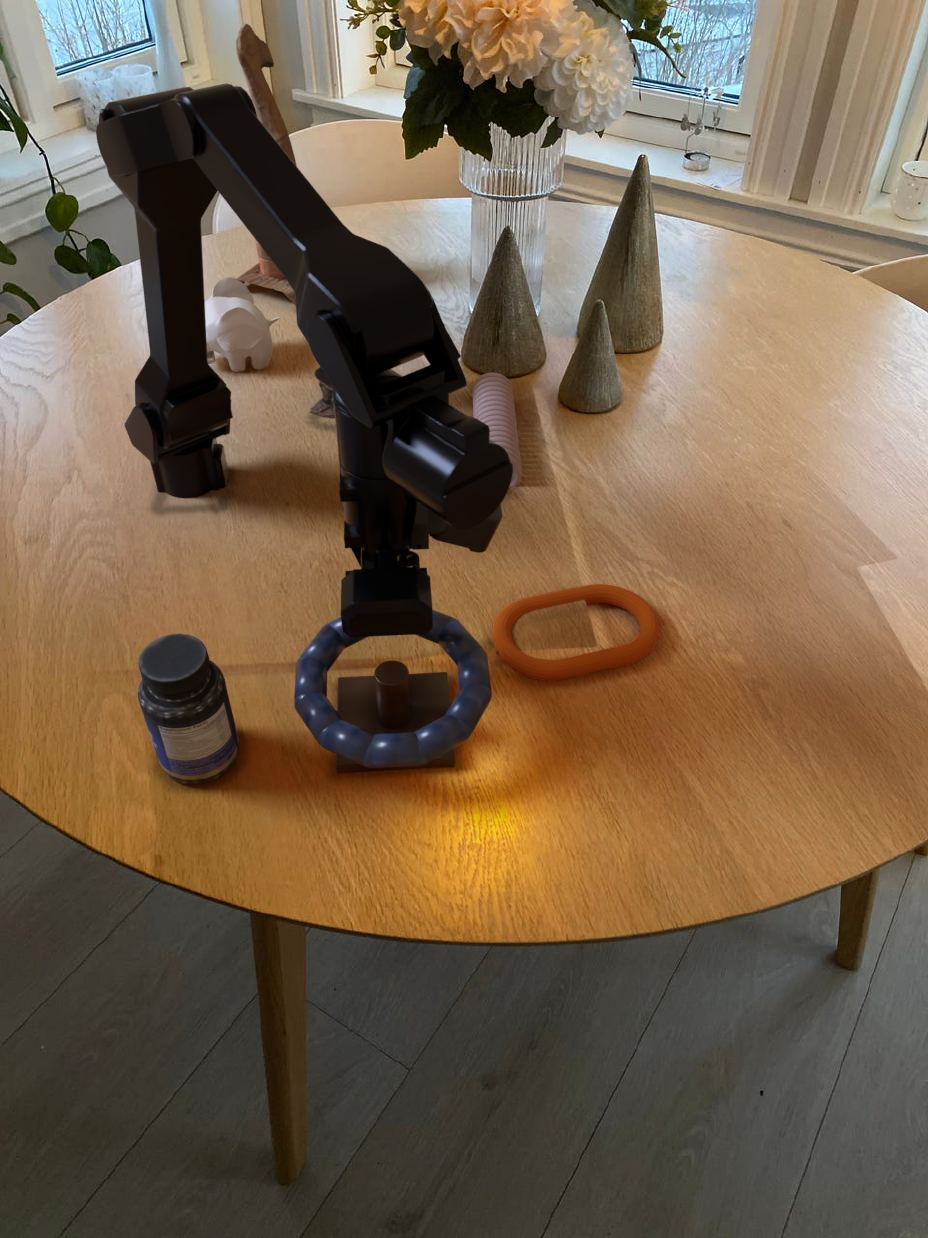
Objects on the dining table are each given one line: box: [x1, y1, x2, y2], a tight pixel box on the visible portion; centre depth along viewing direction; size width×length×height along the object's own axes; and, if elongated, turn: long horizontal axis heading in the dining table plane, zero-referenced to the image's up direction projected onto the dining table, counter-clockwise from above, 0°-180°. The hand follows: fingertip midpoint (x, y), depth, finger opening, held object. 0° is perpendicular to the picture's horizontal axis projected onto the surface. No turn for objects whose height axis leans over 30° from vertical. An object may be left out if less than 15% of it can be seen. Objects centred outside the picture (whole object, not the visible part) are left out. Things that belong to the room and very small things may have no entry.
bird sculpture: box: [235, 23, 298, 306], centre depth 123 cm, size 11×12×32 cm
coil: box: [471, 371, 523, 488], centre depth 104 cm, size 5×5×18 cm
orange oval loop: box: [491, 583, 661, 681], centre depth 83 cm, size 10×2×15 cm
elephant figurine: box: [205, 276, 281, 373], centre depth 116 cm, size 10×12×9 cm
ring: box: [293, 609, 493, 768], centre depth 73 cm, size 15×15×2 cm
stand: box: [335, 659, 456, 775], centre depth 74 cm, size 9×9×6 cm
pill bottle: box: [137, 633, 240, 785], centre depth 70 cm, size 6×6×11 cm
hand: (389, 619), depth 77 cm, fingers closed on ring, 2 cm apart
